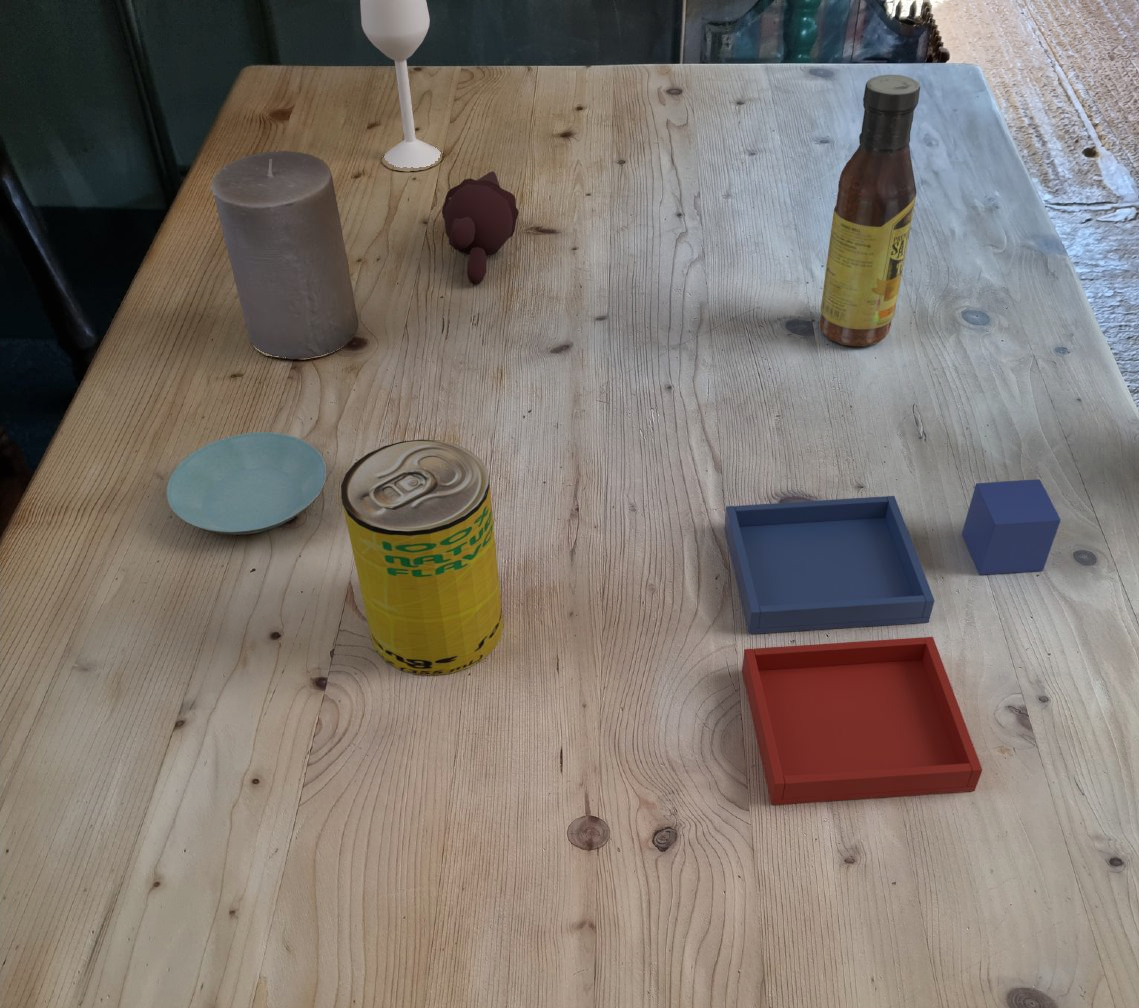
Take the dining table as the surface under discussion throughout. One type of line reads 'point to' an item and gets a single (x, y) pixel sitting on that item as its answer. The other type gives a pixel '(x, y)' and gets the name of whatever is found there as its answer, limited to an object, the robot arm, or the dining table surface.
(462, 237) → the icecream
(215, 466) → the saucer
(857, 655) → the red tray
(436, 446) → the beverage can
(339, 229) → the pillar candle
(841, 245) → the sauce bottle
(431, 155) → the champagne flute
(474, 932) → the dining table surface
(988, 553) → the blue block
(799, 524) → the blue tray
